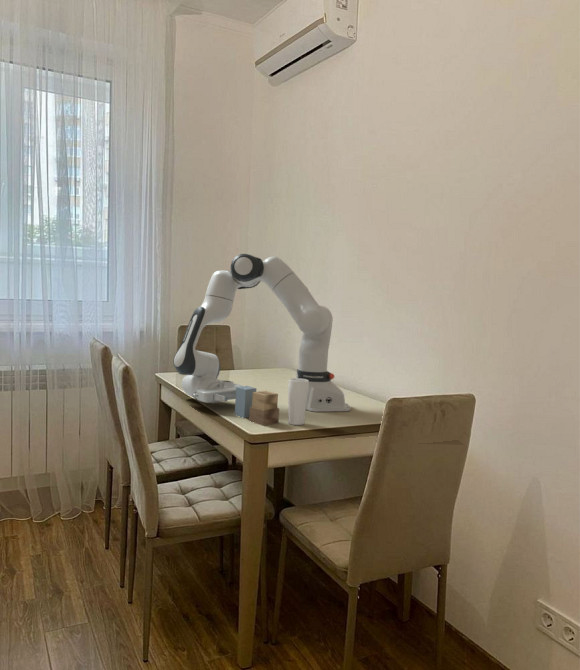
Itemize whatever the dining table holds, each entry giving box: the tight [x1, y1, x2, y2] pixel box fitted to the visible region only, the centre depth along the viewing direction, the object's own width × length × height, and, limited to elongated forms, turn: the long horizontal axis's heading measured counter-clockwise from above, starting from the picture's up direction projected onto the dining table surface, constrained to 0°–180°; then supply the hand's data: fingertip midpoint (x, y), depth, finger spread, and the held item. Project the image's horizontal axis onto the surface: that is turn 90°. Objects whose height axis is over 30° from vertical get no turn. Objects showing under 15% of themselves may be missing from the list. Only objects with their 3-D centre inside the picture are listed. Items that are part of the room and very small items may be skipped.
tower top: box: [252, 390, 279, 410], centre depth 195 cm, size 6×6×5 cm
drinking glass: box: [287, 377, 309, 426], centre depth 195 cm, size 7×7×15 cm
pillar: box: [234, 385, 257, 419], centre depth 202 cm, size 5×5×10 cm
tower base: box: [248, 407, 280, 426], centre depth 195 cm, size 7×7×5 cm
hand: (236, 397), depth 206 cm, fingers open, 8 cm apart
